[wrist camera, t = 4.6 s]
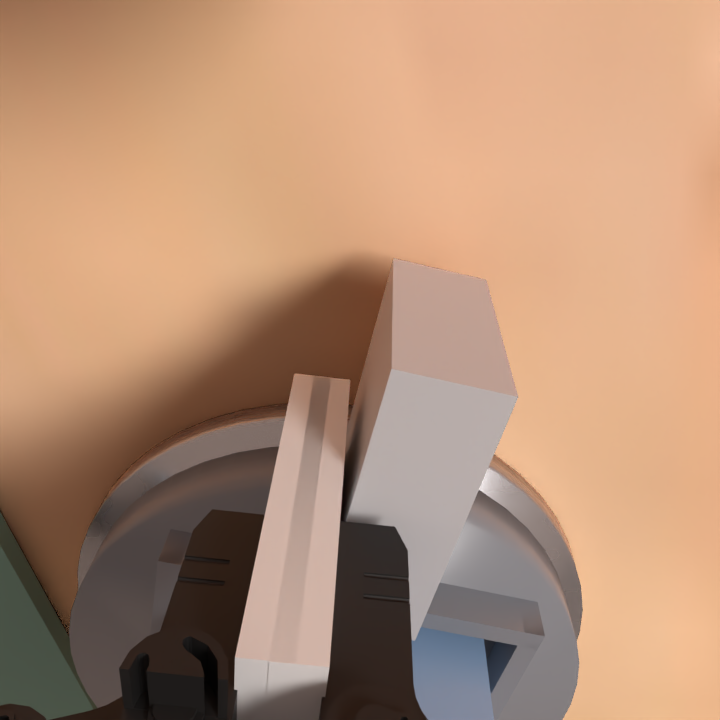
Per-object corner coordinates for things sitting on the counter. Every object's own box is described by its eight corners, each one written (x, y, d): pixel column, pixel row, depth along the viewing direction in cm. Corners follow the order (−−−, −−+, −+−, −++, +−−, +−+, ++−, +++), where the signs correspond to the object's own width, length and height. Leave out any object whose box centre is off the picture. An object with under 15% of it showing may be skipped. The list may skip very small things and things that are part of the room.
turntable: (86, 722, 23) (25, 871, 19) (102, 190, 14) (-11, 279, 10) (479, 791, 24) (493, 946, 20) (753, 342, 15) (876, 476, 11)
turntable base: (168, 747, 26) (161, 769, 25) (9, 429, 18) (-7, 448, 18) (572, 733, 24) (578, 755, 23) (580, 376, 17) (589, 394, 16)
